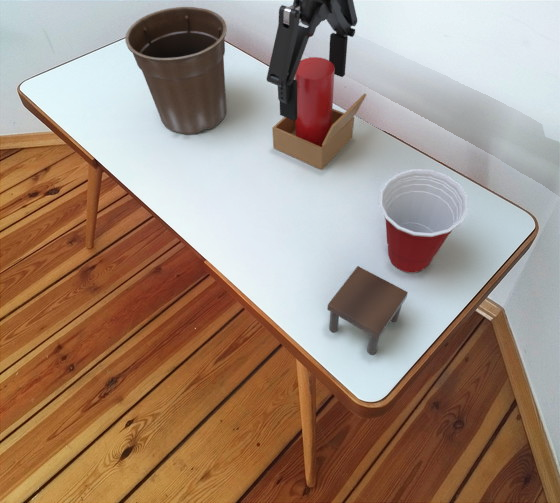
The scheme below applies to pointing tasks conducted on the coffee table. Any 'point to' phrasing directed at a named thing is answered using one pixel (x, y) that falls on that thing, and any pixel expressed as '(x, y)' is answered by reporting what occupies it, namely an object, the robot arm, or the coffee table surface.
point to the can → (314, 99)
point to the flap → (344, 119)
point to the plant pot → (183, 65)
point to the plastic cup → (420, 215)
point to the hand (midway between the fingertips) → (313, 94)
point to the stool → (366, 304)
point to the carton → (306, 150)
